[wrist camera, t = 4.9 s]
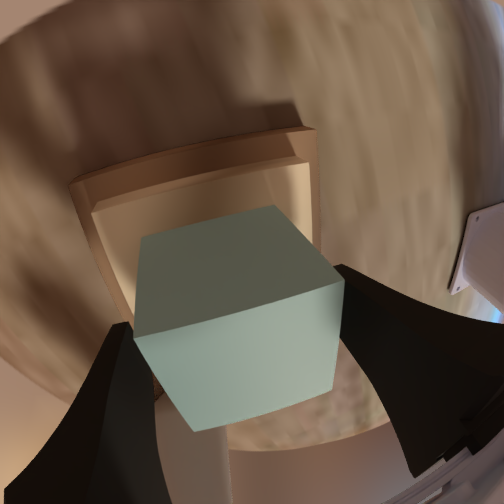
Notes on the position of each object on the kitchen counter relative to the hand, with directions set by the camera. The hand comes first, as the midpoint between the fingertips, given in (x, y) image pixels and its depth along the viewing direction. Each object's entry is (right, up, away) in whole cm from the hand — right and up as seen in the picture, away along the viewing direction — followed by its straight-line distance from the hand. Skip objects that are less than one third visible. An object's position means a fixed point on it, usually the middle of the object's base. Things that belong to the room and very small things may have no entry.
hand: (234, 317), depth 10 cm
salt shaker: (-5, -9, +10) cm, 14 cm away
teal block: (-1, +1, +2) cm, 2 cm away
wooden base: (-1, +2, +4) cm, 5 cm away
